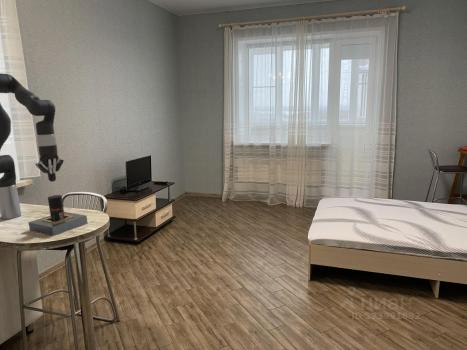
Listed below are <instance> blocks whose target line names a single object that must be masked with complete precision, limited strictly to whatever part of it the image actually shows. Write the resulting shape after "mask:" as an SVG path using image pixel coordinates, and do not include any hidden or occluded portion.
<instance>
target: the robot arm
mask: <svg viewBox="0 0 467 350" xmlns="http://www.w3.org/2000/svg"><path fill="white" fill-rule="evenodd" d="M0 94H13V95H14V97H15V100H16V101H17V102H18V103H19V104H21V105H22V106H24V107H25V108H26V109H27V111H28V112H29V113H30V114H31V115H33V116H34V117H36V116H37V117H43V119H42V120H41V121H37V122H36V123H35V129H36V140H37V147H38V154H39V161H38V162H37V163H35V166H36V168H38V169H39V171H41V172H42V173H43V174H47V178H48V179H47V180H48V181H49V182H52V183H53V182H55V181H56V180H57V174H56V173H57V172H59V171H60V170H61V168H62V165H63V163H64V161H65V160H64V159H61V158H60V157H59V155H58V145H57V138H56V135H55V129H54V128H55V127H54V122H55V115H56V105H55V103H54V102H53V101H52V100H50V99H40V98H39V96H38V95H37V94H35V93H33V92H32V91H30V90H28V89H27V88H26V87H25V86H23V84H21V83H20V82H19V81H18V80H17V78H15V77H14V76H13V75H12V74H9V73H1V72H0ZM11 131H12V121H11V117H10V115H9V114H8V113H7V111H6V110H5V109H4V107H3V105H2V104H1V102H0V151H1V149H2V147H3V146H4V145H5V143H6V141H7V140H8V138H9V136H11ZM0 174H1V175H2V174H3V175H2V176H1V177H0V217H1V219H2V220H10V219H15V218H18V217H21V216H22V210H21V204H20V199H19V193H18V192H19V191H18V186H17V175H16V164H15V160H14V158H13V157H12V155H10V154H2V155H0Z"/></svg>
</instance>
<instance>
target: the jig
mask: <svg viewBox="0 0 467 350" xmlns="http://www.w3.org/2000/svg"><path fill="white" fill-rule="evenodd" d="M64 215H65V219H62V220H59V221H56V222H55V221H51V215H49V216H43V217H41V218H38V219H35V220H32V221H31V220H30V221H29V222H27V223H28V228H29V231H31V232H36V233H38V234H44V235H48V236H53V237H55V236H57V235H60V234H63V233H65V231H66V232H68V231H70V230H73V228H74V229H76V228H79V227H82V226H84V225H88V217H87V215H86V214H85V215H84V214H80V213H73V212H69V211H64Z"/></svg>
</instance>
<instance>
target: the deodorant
mask: <svg viewBox="0 0 467 350" xmlns="http://www.w3.org/2000/svg"><path fill="white" fill-rule="evenodd" d="M47 200H48V208H49V213H50V215H51V221H55V222H56V221H59V220H62V219H65V215H64V212H65V210H64V202H63V196H62V195H61V194H55V195H50V196H48V197H47ZM50 215H49V216H50Z"/></svg>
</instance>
